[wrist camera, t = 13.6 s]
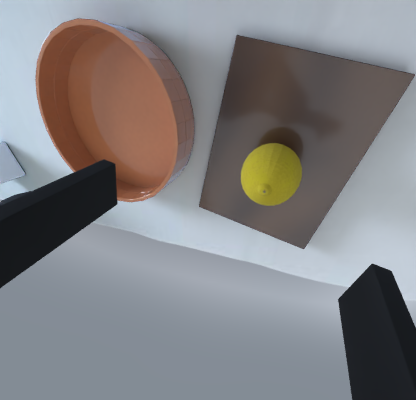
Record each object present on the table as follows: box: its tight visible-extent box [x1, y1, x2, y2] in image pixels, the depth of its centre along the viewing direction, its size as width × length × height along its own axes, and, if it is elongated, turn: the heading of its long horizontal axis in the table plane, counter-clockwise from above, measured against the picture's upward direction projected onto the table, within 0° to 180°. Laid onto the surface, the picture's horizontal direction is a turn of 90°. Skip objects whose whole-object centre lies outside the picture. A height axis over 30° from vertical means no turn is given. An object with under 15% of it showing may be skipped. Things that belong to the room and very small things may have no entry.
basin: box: [35, 18, 194, 202], centre depth 29 cm, size 21×21×4 cm
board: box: [199, 35, 415, 249], centre depth 25 cm, size 15×20×2 cm
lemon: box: [241, 143, 302, 206], centre depth 21 cm, size 6×6×8 cm
